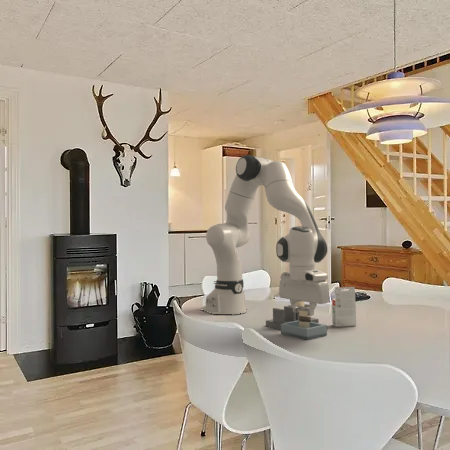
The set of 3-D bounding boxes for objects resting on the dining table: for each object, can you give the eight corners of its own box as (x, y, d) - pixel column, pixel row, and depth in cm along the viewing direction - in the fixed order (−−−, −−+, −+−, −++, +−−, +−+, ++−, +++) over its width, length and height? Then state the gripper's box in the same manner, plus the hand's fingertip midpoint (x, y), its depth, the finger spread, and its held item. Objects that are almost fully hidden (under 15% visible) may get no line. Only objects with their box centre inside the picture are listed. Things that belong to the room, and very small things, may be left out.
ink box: (332, 325, 172) (331, 286, 172) (352, 324, 173) (351, 285, 173) (335, 327, 169) (334, 287, 169) (356, 326, 170) (355, 286, 170)
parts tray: (281, 333, 160) (280, 323, 160) (300, 329, 167) (300, 319, 167) (307, 340, 151) (307, 329, 151) (327, 335, 157) (326, 324, 157)
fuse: (291, 318, 177) (291, 297, 177) (299, 316, 179) (298, 296, 179) (299, 319, 174) (299, 298, 174) (306, 318, 176) (306, 297, 176)
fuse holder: (265, 325, 174) (265, 307, 174) (295, 319, 184) (294, 302, 184) (289, 331, 164) (288, 311, 164) (318, 324, 174) (318, 305, 174)
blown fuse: (295, 329, 159) (297, 306, 160) (303, 329, 162) (305, 306, 163) (304, 331, 156) (306, 307, 157) (312, 331, 159) (314, 307, 159)
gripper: (274, 272, 165) (275, 311, 165) (319, 276, 149) (320, 319, 149) (286, 271, 169) (287, 308, 169) (331, 275, 153) (332, 316, 153)
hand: (303, 313), depth 159 cm, fingers open, 5 cm apart
